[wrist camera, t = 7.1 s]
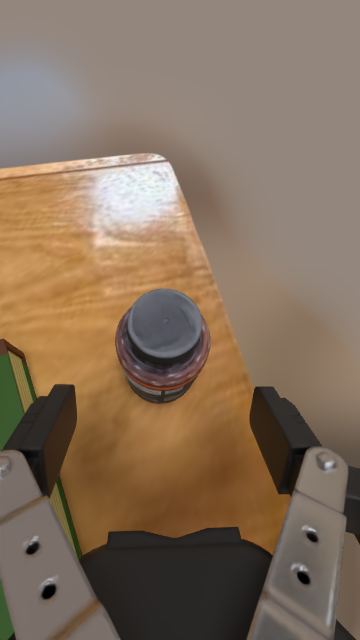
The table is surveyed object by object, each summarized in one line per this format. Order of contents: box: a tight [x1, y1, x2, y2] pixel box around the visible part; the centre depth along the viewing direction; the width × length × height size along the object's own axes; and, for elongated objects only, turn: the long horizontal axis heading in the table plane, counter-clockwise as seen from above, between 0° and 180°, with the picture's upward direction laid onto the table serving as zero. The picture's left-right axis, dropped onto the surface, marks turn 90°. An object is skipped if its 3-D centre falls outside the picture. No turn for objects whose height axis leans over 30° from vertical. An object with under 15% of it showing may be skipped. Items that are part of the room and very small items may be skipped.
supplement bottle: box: [115, 289, 210, 403], centre depth 20 cm, size 6×6×11 cm
